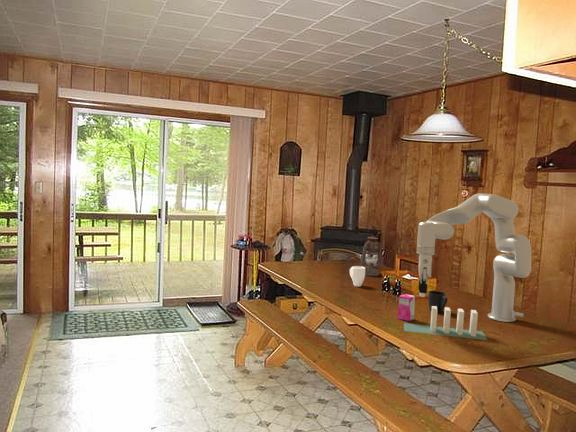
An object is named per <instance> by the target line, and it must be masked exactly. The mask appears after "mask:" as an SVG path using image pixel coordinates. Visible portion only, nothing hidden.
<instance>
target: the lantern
mask: <svg viewBox="0 0 576 432" xmlns="http://www.w3.org/2000/svg"><path fill="white" fill-rule="evenodd" d="M371 225H372V223H370V224H369V225H368V228H367V231H369V229H370V226H371ZM376 226H377V227H379V225H378V224H376ZM377 233H379V228H377ZM378 235H379V234H377V235H375V236H373V235H371V236H370V235H369V234H367V236H368V237H367V239H368V240H367V241H366V242H365V243H364V245H363V249H362V253H361V254H362V255H361V258H360V259H361V260H360V266H362V267H365V277H378V276H379V274H380V273H379V269H380V268H381V267H382V247H381V243H380V242H379V241H378V239H379V238H378Z"/></svg>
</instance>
